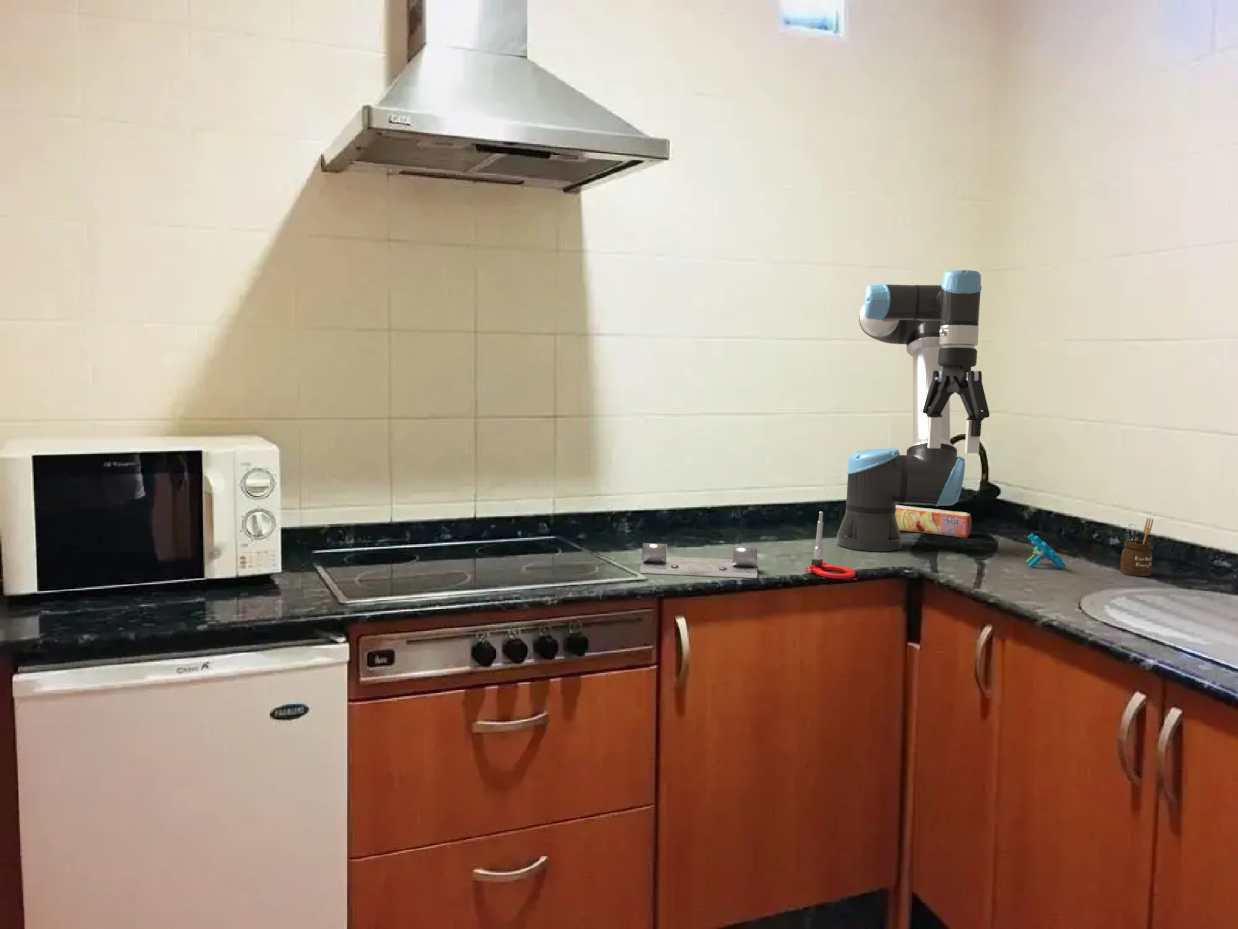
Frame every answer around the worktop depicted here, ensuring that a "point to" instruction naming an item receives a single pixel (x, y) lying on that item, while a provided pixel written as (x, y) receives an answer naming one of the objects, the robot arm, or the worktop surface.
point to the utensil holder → (1137, 555)
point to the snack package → (933, 521)
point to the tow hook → (818, 562)
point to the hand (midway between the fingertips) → (952, 450)
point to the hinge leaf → (699, 563)
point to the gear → (1043, 553)
